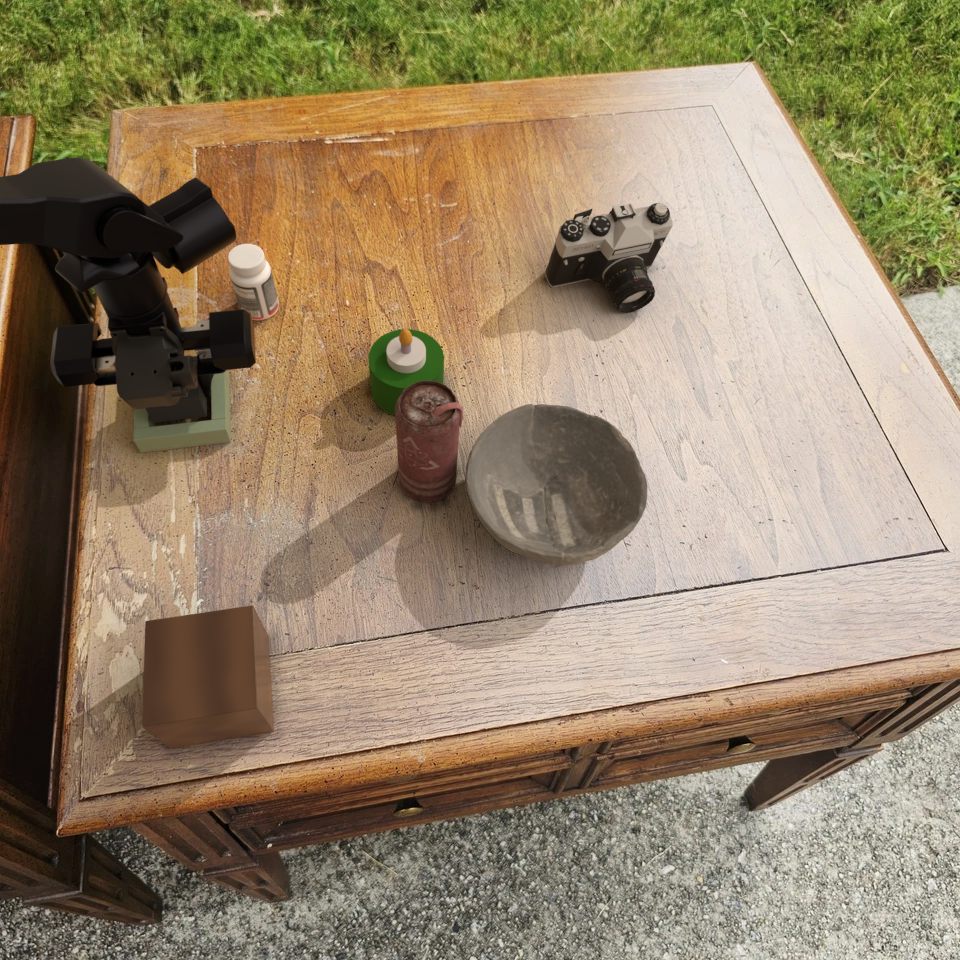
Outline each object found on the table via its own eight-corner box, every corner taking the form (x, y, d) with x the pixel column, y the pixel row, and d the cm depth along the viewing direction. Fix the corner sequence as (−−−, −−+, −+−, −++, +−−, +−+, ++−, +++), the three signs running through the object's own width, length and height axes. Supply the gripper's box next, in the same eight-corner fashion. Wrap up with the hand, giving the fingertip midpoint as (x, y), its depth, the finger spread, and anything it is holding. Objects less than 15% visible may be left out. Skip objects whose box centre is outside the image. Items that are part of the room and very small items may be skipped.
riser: (169, 749, 69) (141, 727, 63) (171, 651, 74) (145, 620, 67) (274, 731, 71) (257, 708, 64) (269, 636, 75) (253, 604, 68)
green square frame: (231, 442, 86) (226, 429, 84) (140, 453, 85) (132, 440, 82) (229, 374, 91) (224, 360, 89) (142, 383, 89) (135, 369, 87)
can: (462, 500, 84) (468, 426, 72) (402, 507, 83) (398, 433, 71) (453, 453, 87) (458, 373, 75) (396, 459, 86) (391, 380, 74)
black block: (152, 423, 84) (142, 403, 81) (153, 381, 86) (144, 360, 83) (207, 416, 84) (198, 397, 82) (206, 375, 87) (198, 355, 84)
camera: (567, 331, 99) (586, 285, 89) (539, 260, 102) (555, 208, 93) (671, 308, 102) (701, 261, 92) (641, 239, 105) (666, 188, 96)
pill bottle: (269, 287, 98) (257, 235, 91) (285, 312, 96) (274, 261, 89) (233, 301, 96) (217, 249, 89) (249, 327, 94) (234, 275, 87)
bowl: (447, 454, 87) (449, 412, 80) (599, 430, 90) (613, 387, 83) (484, 605, 78) (490, 571, 71) (651, 572, 81) (672, 537, 74)
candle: (433, 354, 94) (434, 295, 85) (451, 410, 90) (453, 353, 81) (364, 367, 92) (358, 307, 84) (379, 424, 88) (374, 367, 80)
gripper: (14, 374, 67) (83, 470, 80) (241, 351, 69) (271, 448, 83) (27, 278, 72) (90, 384, 85) (237, 261, 75) (266, 365, 88)
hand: (179, 397), depth 85 cm, fingers closed on black block, 6 cm apart
